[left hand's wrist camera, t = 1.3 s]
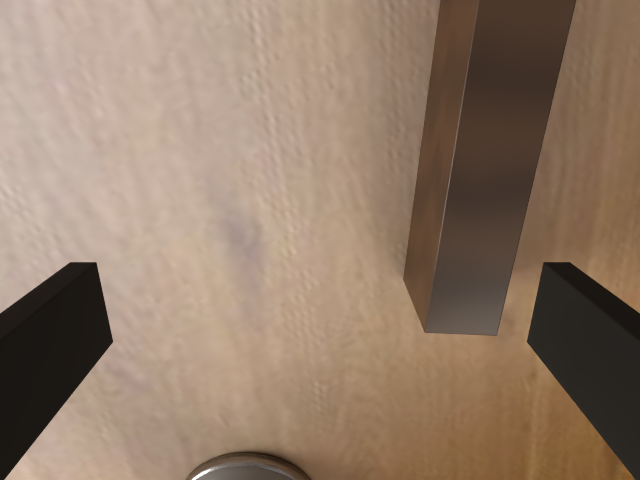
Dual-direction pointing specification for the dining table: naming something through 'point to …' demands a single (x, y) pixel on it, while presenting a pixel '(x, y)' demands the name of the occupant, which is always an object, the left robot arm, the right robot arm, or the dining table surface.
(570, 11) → the beam
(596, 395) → the left robot arm
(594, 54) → the dining table surface
